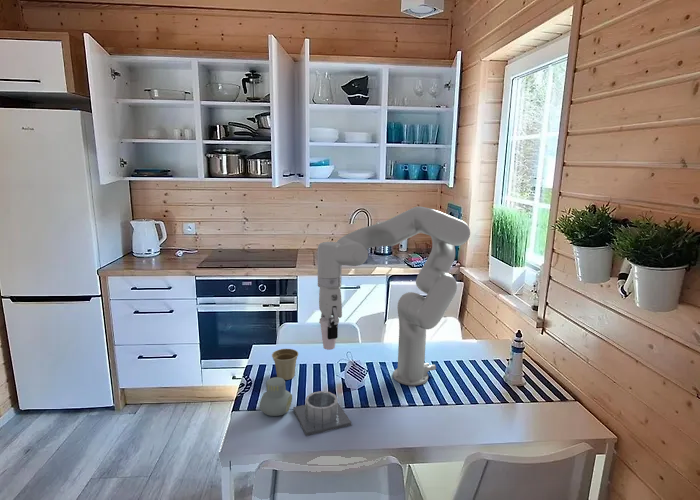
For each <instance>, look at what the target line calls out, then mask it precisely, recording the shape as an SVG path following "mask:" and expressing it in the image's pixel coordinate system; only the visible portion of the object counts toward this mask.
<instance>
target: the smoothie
mask: <svg viewBox="0 0 700 500" xmlns="http://www.w3.org/2000/svg"><path fill="white" fill-rule="evenodd" d="M332 317H333V316H330V318H332ZM333 320H334V319H332V320H331V322H332V321H333ZM318 322H319V324H320V332H321V338H322V344H323V345H322V346H323V350H326V351H329V350H334V349H335V348H336V342H337V341H336V340H337V338H336V339H328V327H329V325H328V319H327V318H326V317H322V318H321V317H320V318H319V321H318ZM339 323H340V321H339V322H338V324H339Z"/></svg>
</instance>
